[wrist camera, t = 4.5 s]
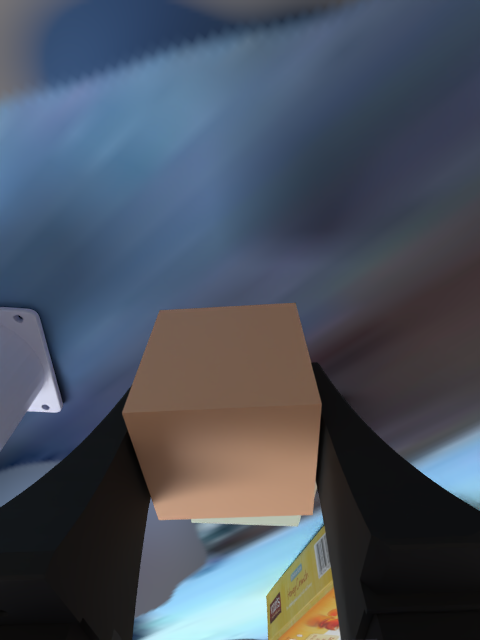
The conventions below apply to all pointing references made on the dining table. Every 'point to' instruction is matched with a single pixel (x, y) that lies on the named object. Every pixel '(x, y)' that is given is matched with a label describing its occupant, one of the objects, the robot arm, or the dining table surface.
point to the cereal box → (305, 597)
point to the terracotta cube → (226, 413)
